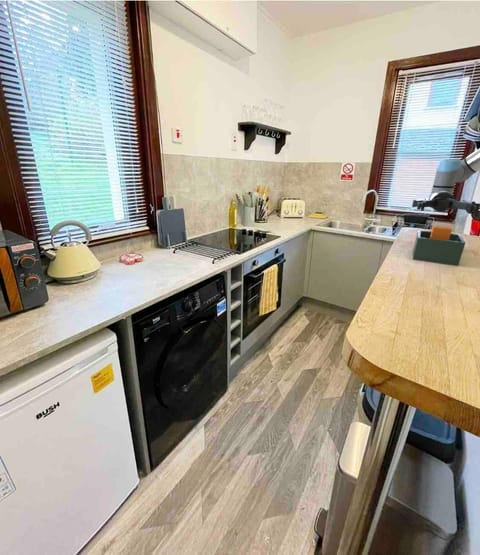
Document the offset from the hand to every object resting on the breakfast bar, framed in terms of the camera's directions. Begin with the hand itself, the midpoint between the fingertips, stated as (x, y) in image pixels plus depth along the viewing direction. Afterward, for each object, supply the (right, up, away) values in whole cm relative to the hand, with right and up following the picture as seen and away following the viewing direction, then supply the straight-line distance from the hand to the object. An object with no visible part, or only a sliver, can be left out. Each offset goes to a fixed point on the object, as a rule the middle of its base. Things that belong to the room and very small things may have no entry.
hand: (446, 208), depth 94 cm
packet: (-3, -16, +2) cm, 16 cm away
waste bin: (-3, -17, +2) cm, 17 cm away
